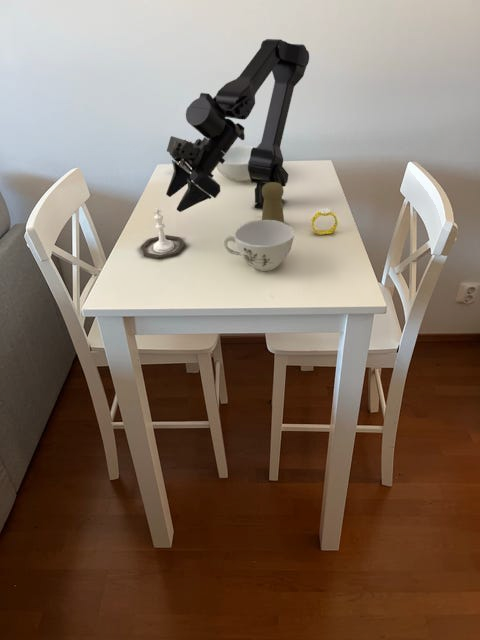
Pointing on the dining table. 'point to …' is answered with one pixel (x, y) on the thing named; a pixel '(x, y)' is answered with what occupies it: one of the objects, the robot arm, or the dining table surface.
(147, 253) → the spot ring
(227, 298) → the dining table surface
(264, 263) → the teacup
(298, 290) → the dining table surface
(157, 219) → the chess piece
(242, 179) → the cereal bowl
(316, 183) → the dining table surface
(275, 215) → the cork
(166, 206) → the dining table surface
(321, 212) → the watch
